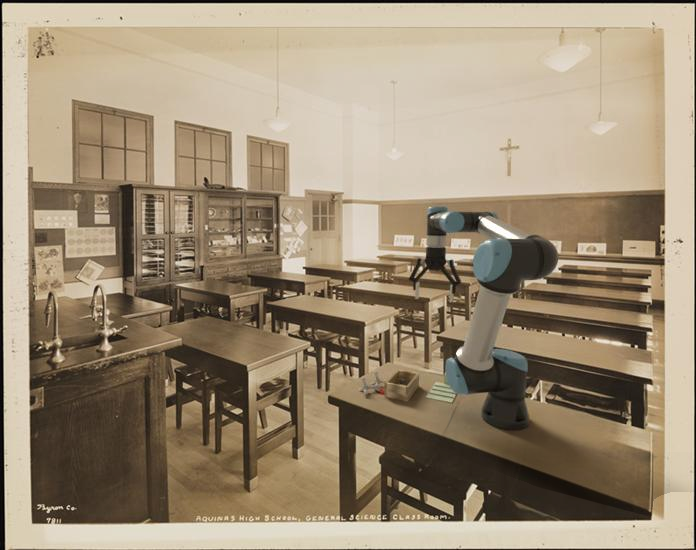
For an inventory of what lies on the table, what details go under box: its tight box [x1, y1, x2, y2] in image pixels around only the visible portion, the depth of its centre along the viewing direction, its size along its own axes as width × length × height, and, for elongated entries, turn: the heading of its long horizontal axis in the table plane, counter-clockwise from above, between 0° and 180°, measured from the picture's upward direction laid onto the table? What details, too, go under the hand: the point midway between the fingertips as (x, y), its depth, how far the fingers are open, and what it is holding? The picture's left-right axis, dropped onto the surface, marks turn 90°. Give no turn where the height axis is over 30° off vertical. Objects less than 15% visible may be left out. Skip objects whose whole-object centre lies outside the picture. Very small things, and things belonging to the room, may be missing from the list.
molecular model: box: [357, 370, 388, 395], centre depth 158 cm, size 14×8×10 cm
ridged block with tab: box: [425, 371, 457, 404], centre depth 159 cm, size 10×22×5 cm, turn 155°
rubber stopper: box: [400, 379, 406, 385], centre depth 161 cm, size 2×2×3 cm
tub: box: [383, 369, 420, 403], centre depth 157 cm, size 9×15×6 cm, turn 155°
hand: (433, 300), depth 162 cm, fingers open, 13 cm apart
